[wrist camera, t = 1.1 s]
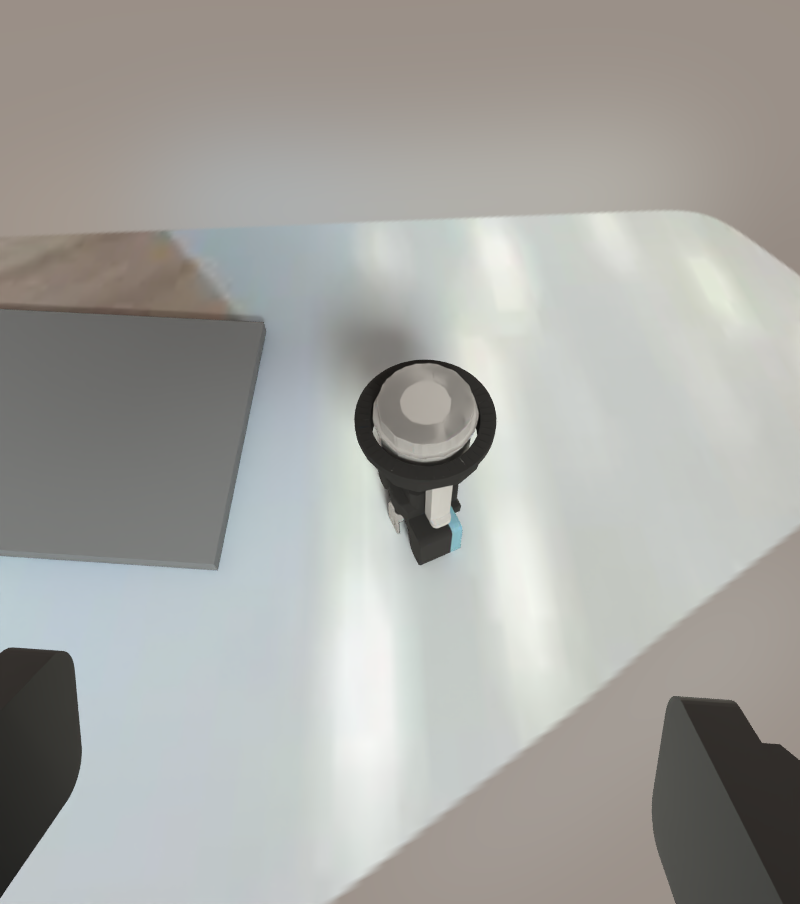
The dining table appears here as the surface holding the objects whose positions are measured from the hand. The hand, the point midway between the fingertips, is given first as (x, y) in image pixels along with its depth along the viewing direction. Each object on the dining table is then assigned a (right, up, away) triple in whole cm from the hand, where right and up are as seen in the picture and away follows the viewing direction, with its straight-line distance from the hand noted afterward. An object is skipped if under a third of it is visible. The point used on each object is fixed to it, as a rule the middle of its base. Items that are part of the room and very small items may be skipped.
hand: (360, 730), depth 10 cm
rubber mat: (-15, +5, +28) cm, 33 cm away
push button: (+1, +1, +26) cm, 26 cm away
